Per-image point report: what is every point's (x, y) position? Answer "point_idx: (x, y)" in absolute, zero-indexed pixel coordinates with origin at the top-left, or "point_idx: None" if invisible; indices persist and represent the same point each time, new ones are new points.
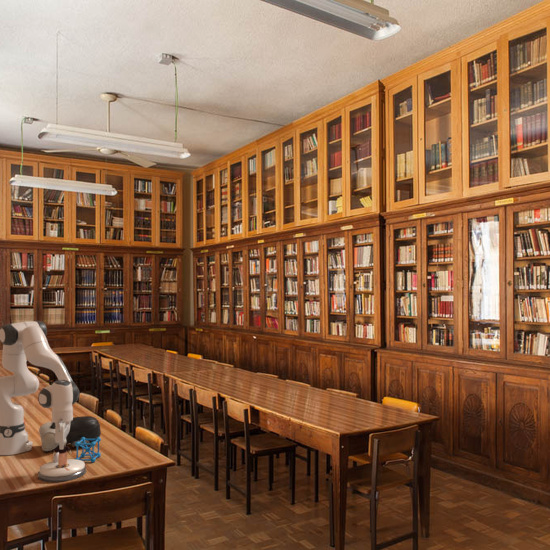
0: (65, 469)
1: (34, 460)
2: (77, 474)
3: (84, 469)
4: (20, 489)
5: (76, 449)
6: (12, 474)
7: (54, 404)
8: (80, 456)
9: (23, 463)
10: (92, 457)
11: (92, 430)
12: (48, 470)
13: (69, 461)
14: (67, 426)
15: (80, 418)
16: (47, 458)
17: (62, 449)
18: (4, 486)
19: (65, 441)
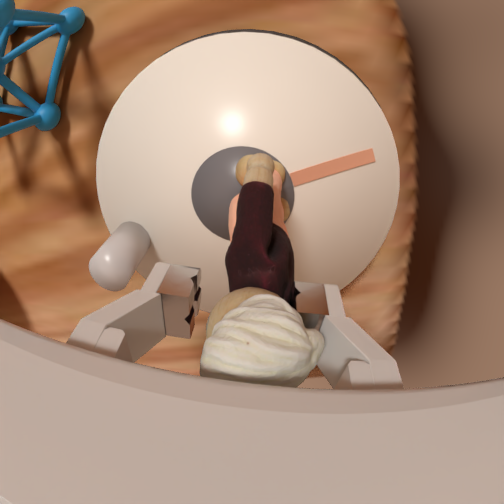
0: (337, 177)
1: (35, 299)
2: (371, 94)
3: (298, 40)
4: (377, 337)
5: (3, 136)
6: (180, 364)
7: None
8: (30, 102)
9: (65, 330)
10: (62, 21)
11: None
12: (306, 277)
13: (146, 151)
14: (3, 498)
15: None
16: (12, 257)
17: (292, 283)
18: (311, 377)
19: (299, 330)
